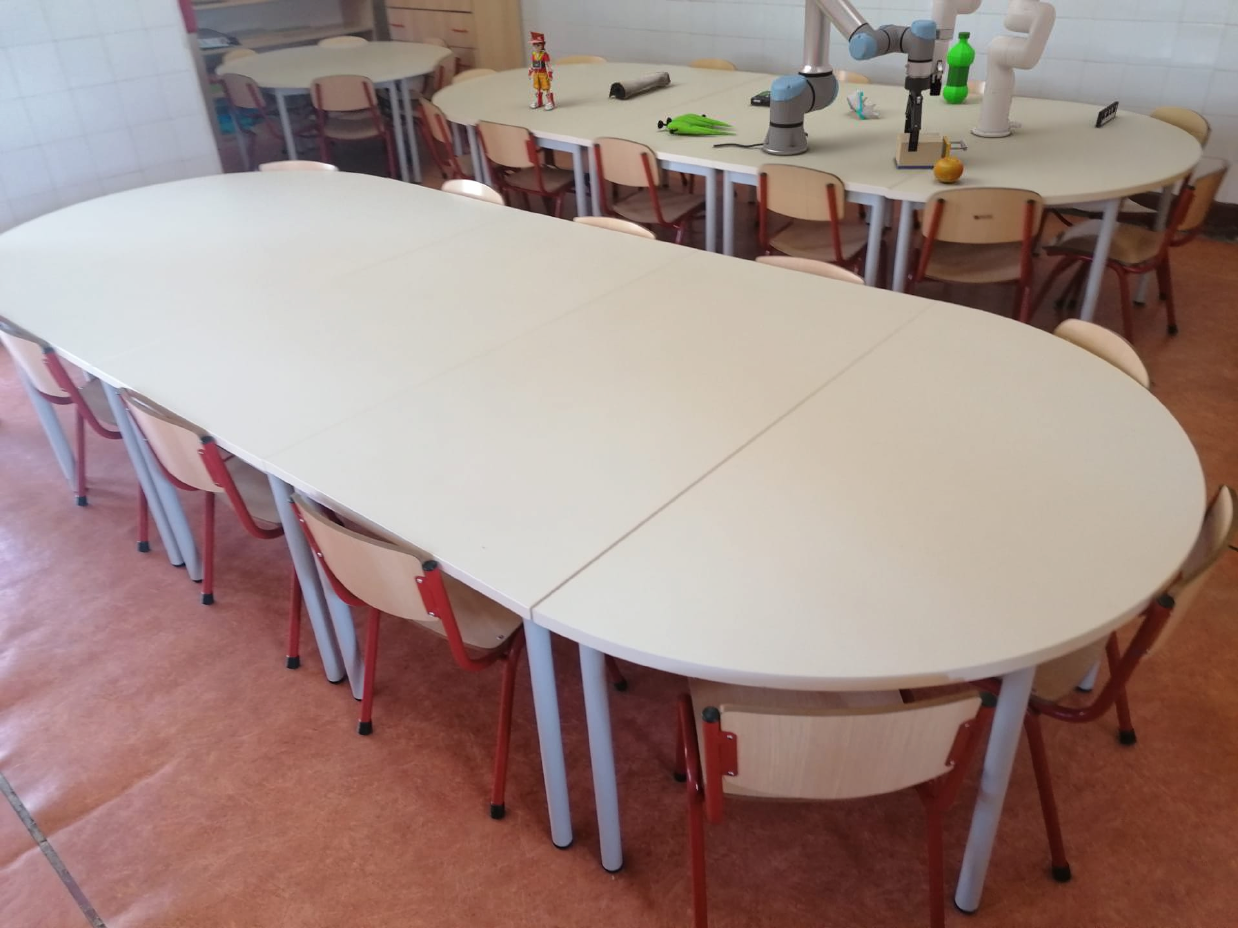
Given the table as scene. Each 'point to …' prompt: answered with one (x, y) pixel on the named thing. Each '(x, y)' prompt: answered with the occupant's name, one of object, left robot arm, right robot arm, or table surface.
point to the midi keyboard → (1107, 113)
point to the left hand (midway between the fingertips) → (909, 145)
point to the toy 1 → (541, 71)
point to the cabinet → (918, 151)
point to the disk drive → (761, 99)
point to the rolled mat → (638, 84)
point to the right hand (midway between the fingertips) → (932, 92)
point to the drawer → (947, 147)
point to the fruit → (948, 169)
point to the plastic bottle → (958, 69)
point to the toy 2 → (692, 125)
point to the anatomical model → (861, 105)
